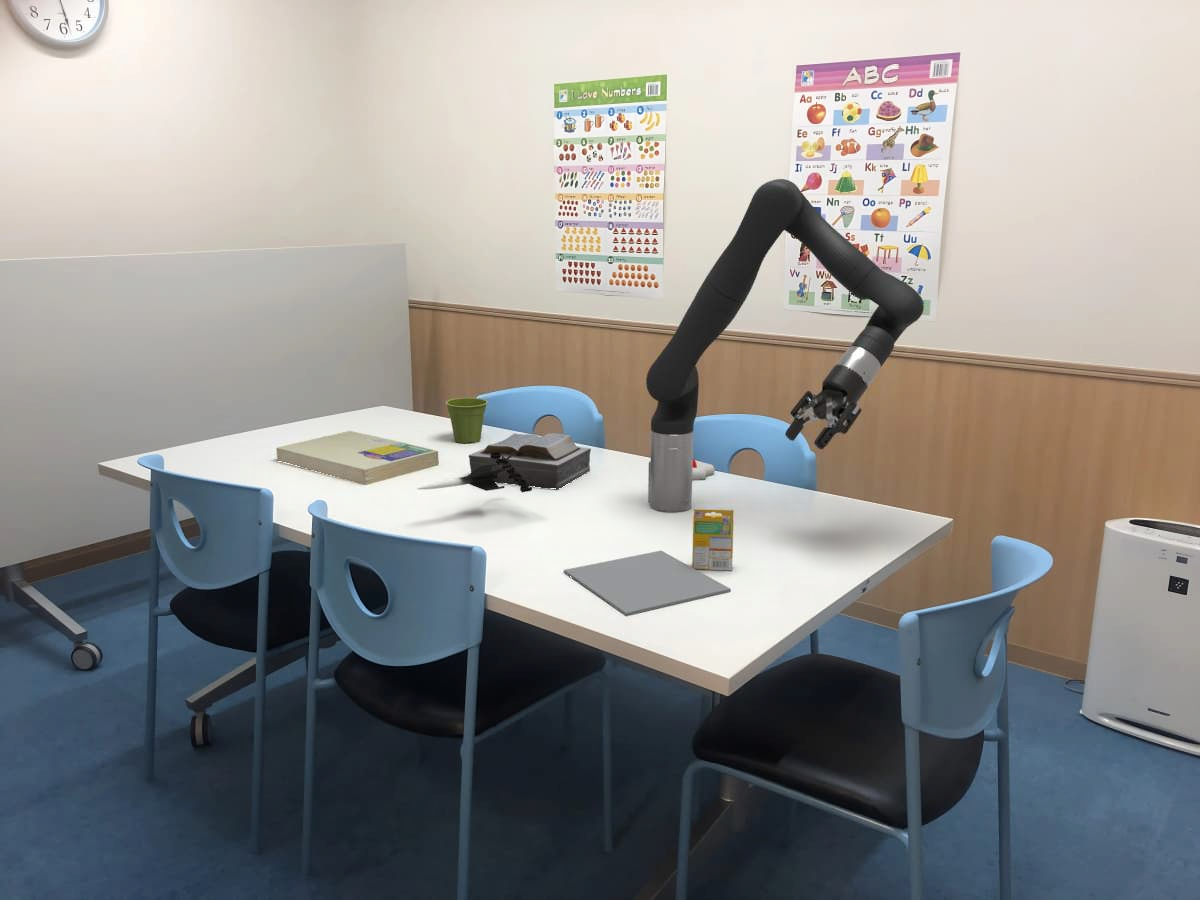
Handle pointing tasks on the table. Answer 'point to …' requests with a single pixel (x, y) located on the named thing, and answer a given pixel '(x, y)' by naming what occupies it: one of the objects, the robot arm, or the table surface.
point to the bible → (537, 459)
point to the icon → (701, 470)
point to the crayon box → (712, 540)
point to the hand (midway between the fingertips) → (803, 442)
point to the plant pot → (467, 418)
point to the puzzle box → (358, 457)
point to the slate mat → (646, 582)
